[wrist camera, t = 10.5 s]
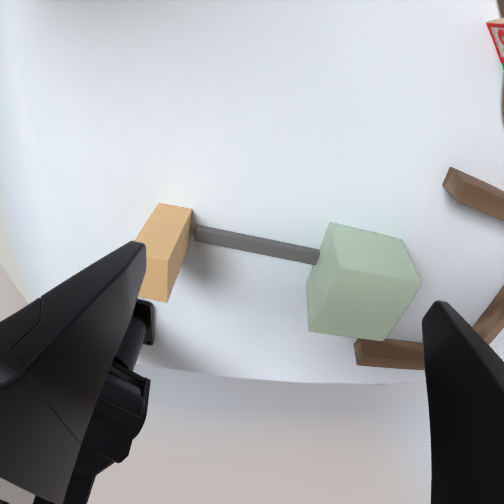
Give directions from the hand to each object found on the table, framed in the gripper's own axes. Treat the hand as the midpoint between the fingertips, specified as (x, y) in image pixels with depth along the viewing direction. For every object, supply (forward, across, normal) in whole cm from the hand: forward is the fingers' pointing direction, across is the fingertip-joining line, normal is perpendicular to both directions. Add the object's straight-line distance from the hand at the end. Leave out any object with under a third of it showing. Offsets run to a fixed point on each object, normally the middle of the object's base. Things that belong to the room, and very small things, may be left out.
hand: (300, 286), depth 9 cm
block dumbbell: (+13, -1, +8) cm, 15 cm away
